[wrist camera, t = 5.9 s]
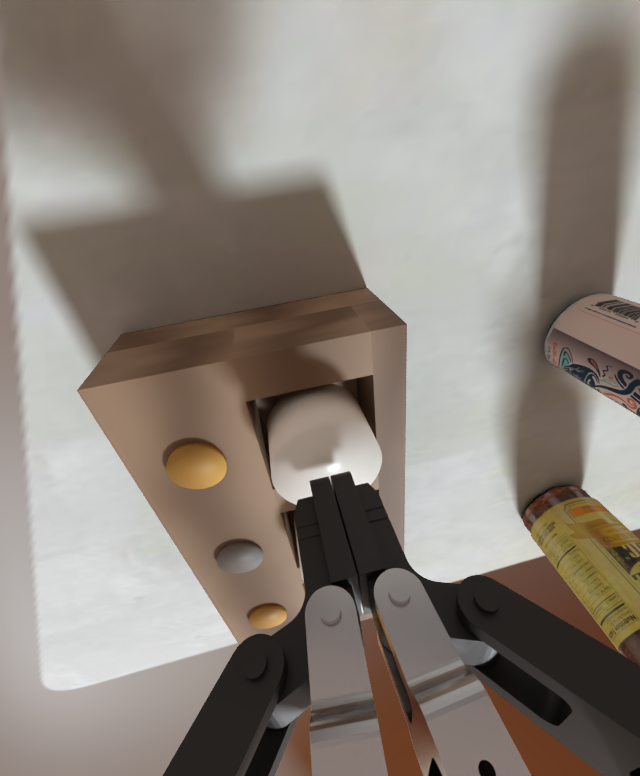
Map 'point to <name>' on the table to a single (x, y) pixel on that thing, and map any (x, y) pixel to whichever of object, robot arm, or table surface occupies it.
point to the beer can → (600, 346)
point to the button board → (246, 434)
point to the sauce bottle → (592, 560)
